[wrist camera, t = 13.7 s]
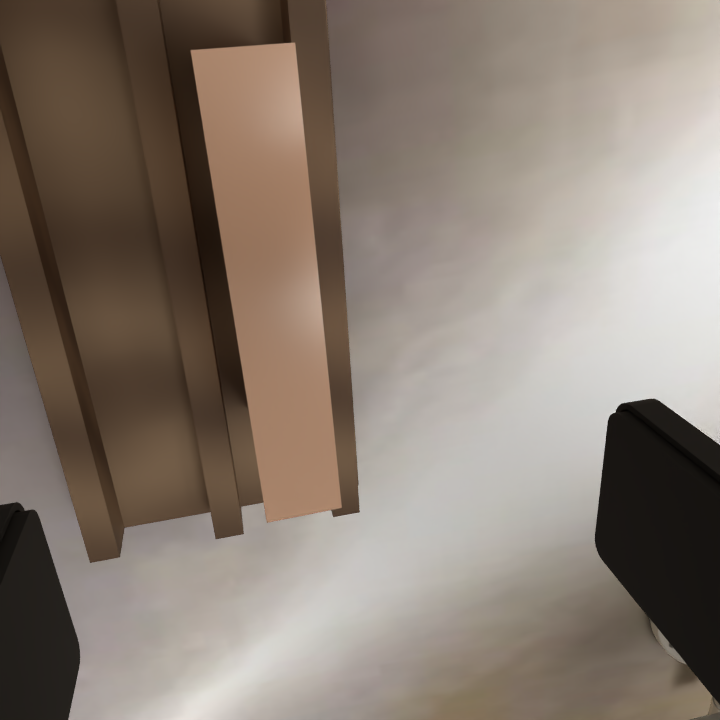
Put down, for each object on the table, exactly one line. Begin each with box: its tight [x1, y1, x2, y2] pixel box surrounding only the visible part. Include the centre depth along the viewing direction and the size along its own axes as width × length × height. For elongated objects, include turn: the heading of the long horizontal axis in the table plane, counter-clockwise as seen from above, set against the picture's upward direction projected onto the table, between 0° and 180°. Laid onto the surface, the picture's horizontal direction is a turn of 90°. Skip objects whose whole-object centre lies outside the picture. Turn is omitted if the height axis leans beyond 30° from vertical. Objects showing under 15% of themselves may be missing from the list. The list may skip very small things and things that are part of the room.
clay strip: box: [191, 43, 342, 523], centre depth 22 cm, size 14×2×8 cm, turn 4°
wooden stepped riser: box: [0, 0, 360, 563], centre depth 25 cm, size 24×12×4 cm, turn 3°
